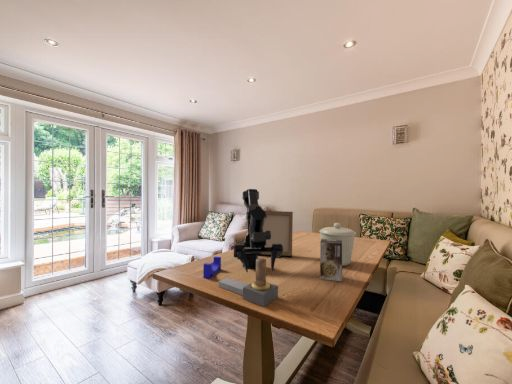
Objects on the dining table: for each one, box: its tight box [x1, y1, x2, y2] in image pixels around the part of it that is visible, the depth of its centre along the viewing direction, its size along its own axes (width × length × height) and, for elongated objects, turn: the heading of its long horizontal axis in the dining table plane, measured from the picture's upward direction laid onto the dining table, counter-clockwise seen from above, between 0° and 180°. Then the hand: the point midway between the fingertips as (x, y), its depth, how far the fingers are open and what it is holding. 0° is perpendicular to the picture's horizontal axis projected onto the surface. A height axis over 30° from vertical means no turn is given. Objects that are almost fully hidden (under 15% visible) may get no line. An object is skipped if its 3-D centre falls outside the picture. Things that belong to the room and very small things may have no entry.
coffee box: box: [319, 238, 343, 282], centre depth 104 cm, size 9×6×16 cm
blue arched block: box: [203, 255, 222, 279], centre depth 109 cm, size 12×4×6 cm, turn 166°
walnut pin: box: [251, 257, 271, 291], centre depth 85 cm, size 6×6×13 cm
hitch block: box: [218, 277, 279, 307], centre depth 89 cm, size 9×23×4 cm, turn 53°
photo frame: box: [261, 210, 294, 257], centre depth 143 cm, size 15×22×25 cm
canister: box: [318, 222, 357, 267], centre depth 125 cm, size 18×18×21 cm
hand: (259, 271), depth 87 cm, fingers open, 9 cm apart
